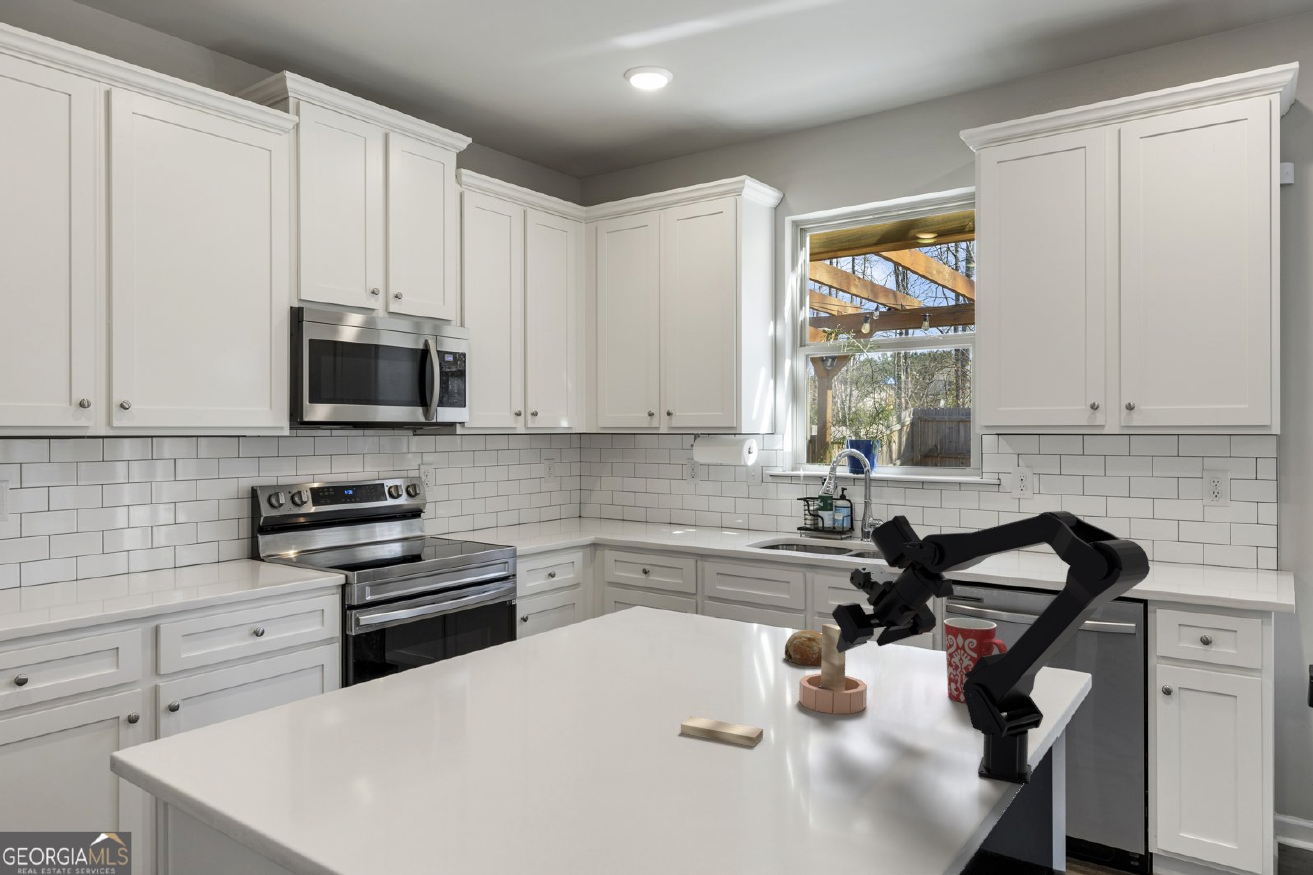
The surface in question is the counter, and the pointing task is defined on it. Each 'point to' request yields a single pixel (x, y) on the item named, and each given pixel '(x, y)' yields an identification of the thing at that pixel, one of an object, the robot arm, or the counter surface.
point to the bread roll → (804, 648)
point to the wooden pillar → (832, 660)
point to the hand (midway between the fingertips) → (858, 647)
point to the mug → (967, 649)
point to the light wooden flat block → (722, 731)
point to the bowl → (833, 695)
